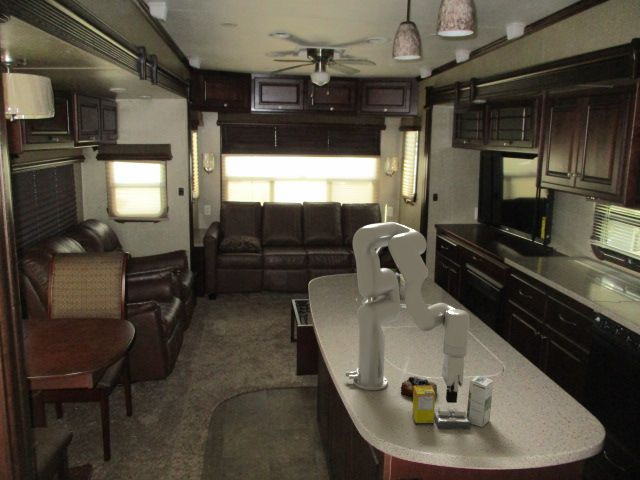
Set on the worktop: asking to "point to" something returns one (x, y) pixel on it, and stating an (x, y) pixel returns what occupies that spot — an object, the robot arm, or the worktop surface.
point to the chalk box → (397, 277)
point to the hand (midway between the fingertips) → (451, 401)
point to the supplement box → (423, 405)
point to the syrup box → (479, 400)
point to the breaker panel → (451, 421)
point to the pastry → (409, 385)
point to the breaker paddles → (445, 411)
